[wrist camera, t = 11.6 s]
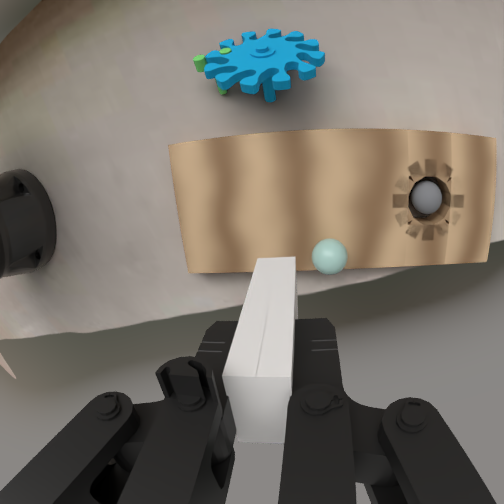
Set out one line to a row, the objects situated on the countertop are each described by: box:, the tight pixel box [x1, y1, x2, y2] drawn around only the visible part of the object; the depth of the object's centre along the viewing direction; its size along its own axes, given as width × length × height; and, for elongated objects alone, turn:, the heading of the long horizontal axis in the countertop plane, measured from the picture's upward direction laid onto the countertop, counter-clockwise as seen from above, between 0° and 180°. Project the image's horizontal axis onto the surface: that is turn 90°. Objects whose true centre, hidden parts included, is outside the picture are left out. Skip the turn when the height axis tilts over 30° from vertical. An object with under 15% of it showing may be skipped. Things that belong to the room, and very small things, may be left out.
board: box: [168, 129, 496, 273], centre depth 28 cm, size 32×13×2 cm, turn 95°
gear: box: [193, 29, 325, 102], centre depth 24 cm, size 11×6×10 cm
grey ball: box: [411, 181, 442, 214], centre depth 26 cm, size 3×3×3 cm
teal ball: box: [312, 238, 348, 275], centre depth 27 cm, size 3×3×3 cm
